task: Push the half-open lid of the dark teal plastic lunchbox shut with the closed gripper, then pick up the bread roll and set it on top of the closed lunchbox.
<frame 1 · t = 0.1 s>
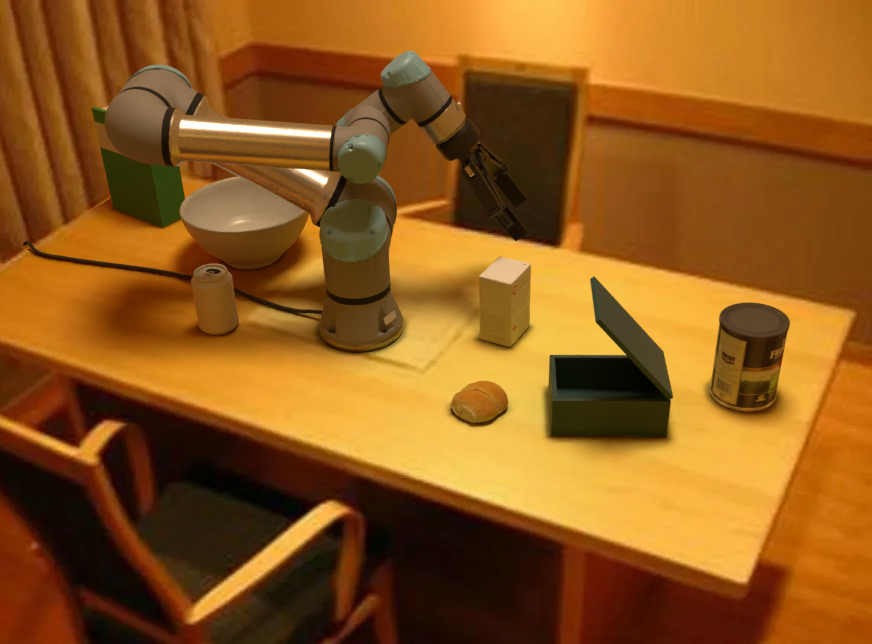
hand: (521, 219, 196), 15 cm above the table, tool tilted 35°, fingers open, 13 cm apart
lunchbox: (605, 412, 172), on the table
lunchbox lid: (631, 337, 164), point 14 cm above the table, hinge at 50.0°
hardback book: (150, 212, 245), on the table
coffee can: (741, 394, 174), on the table
bread roll: (479, 409, 175), on the table
small box: (504, 333, 193), on the table
can: (219, 327, 202), on the table
decorative bowl: (253, 255, 225), on the table
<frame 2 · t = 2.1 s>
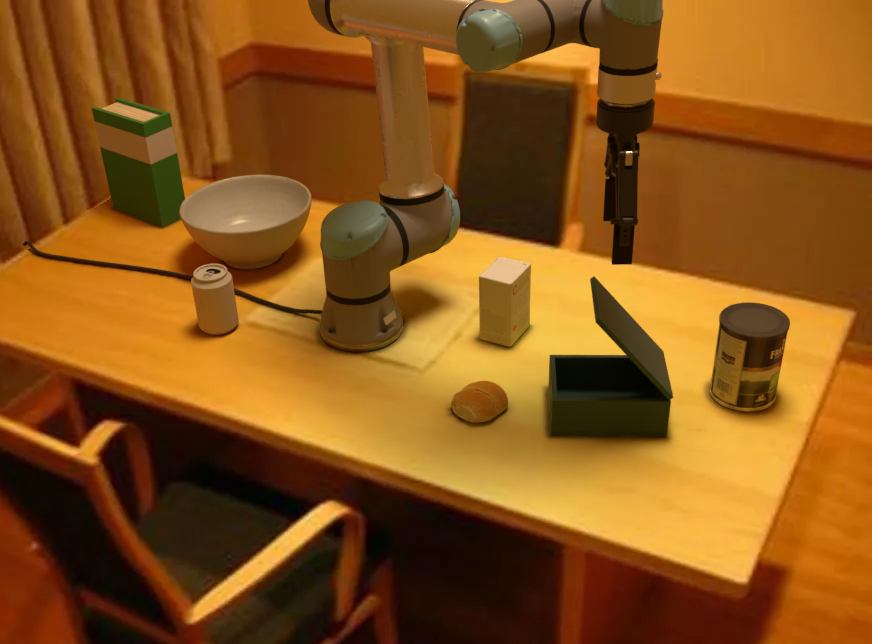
hand: (616, 241, 156), 30 cm above the table, tool pointing down, fingers open, 13 cm apart
nothing on the table moved.
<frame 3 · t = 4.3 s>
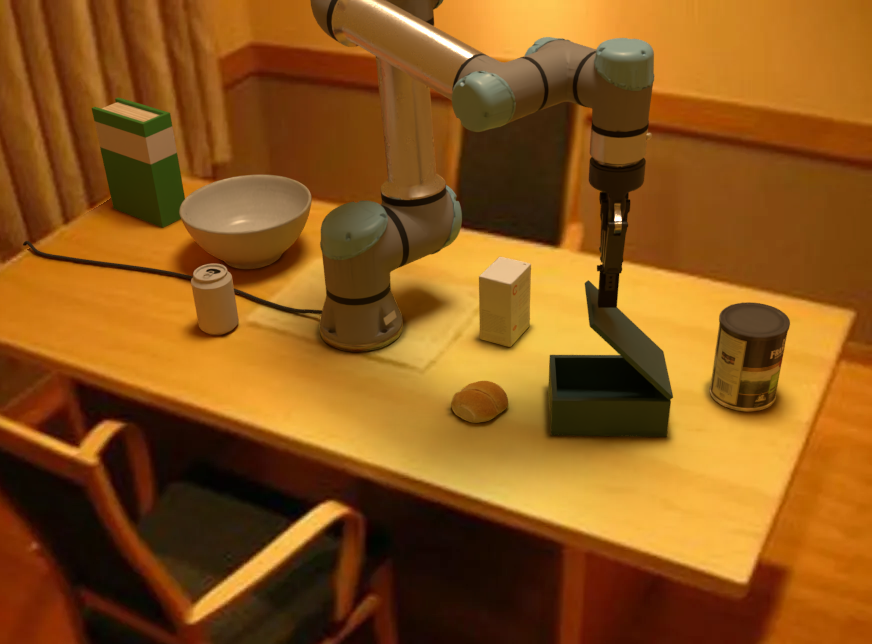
hand: (607, 304, 161), 20 cm above the table, tool pointing down, fingers closed
lunchbox lid: (628, 339, 164), point 14 cm above the table, hinge at 46.5°
everything else where it was.
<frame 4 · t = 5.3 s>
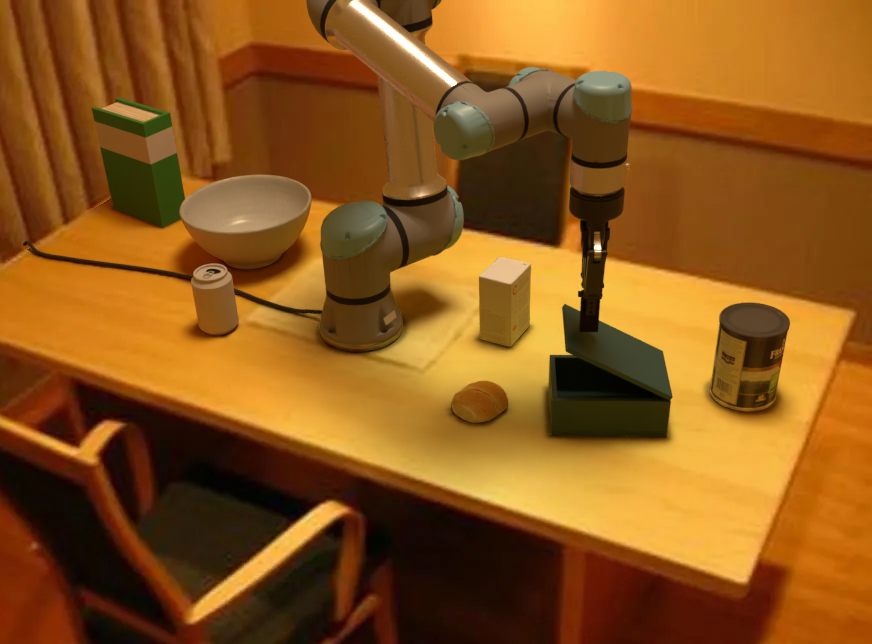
hand: (588, 329, 164), 16 cm above the table, tool pointing down, fingers closed
lunchbox lid: (616, 351, 165), point 12 cm above the table, hinge at 29.2°, touching gripper
everything else where it was.
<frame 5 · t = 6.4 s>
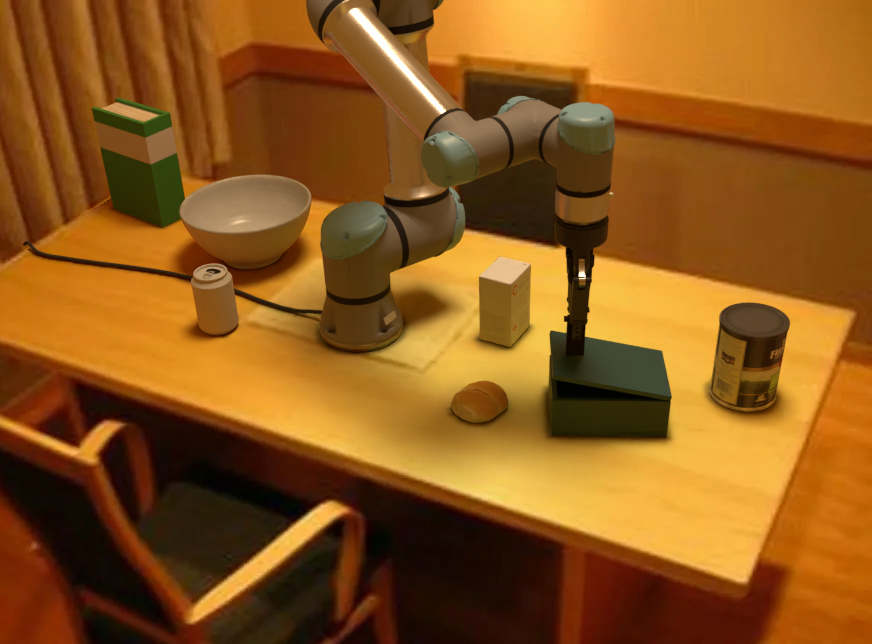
hand: (574, 352, 166), 11 cm above the table, tool pointing down, fingers closed
lunchbox lid: (608, 364, 167), point 9 cm above the table, hinge at 12.3°, touching gripper
everything else where it was.
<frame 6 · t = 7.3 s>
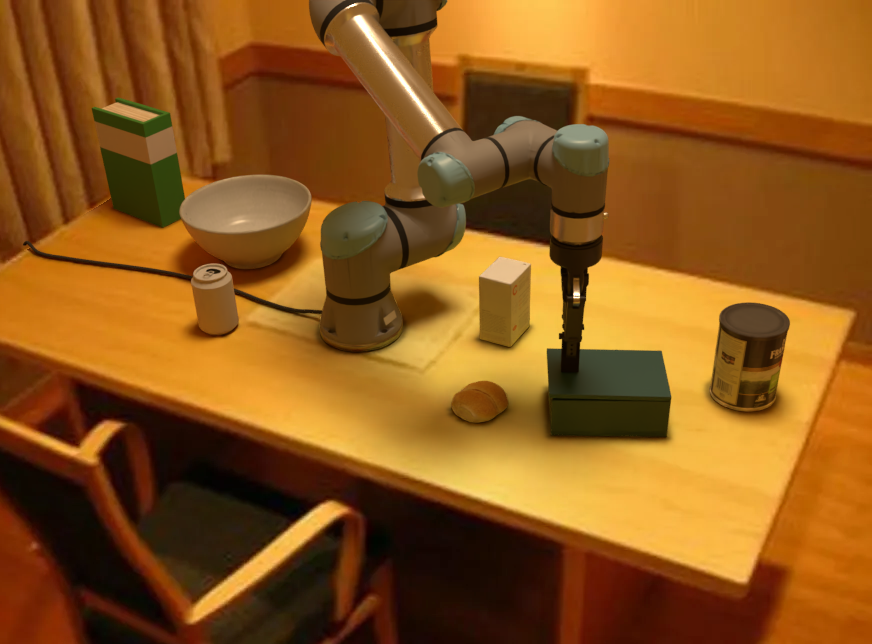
hand: (569, 369, 168), 8 cm above the table, tool pointing down, fingers closed
lunchbox lid: (606, 373, 168), point 7 cm above the table, hinge at 1.2°, touching gripper
everything else where it was.
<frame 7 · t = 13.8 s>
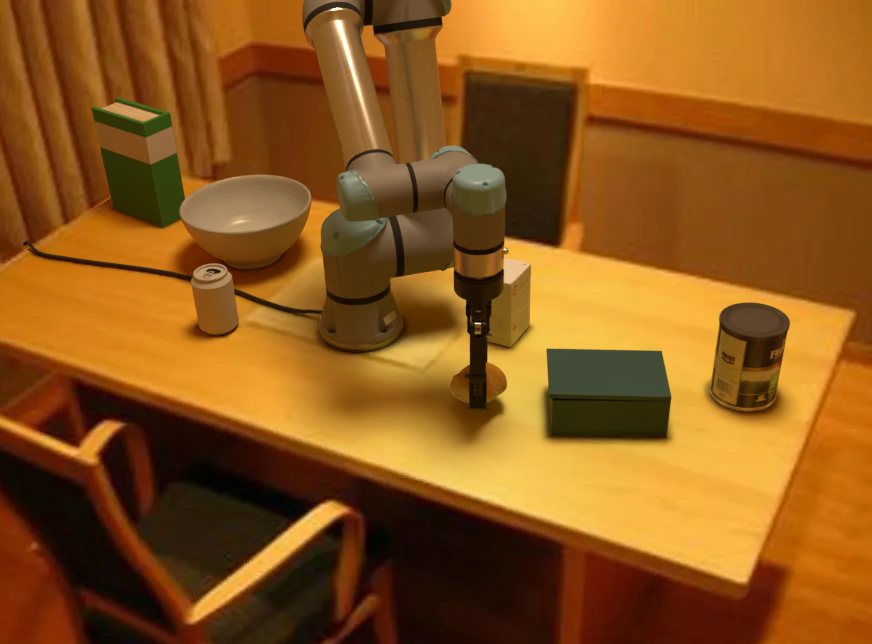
hand: (478, 389, 174), 4 cm above the table, tool pointing down, fingers closed on bread roll, 9 cm apart
lunchbox lid: (606, 373, 168), point 7 cm above the table, hinge at 1.1°
bread roll: (478, 391, 174), point 3 cm above the table, touching gripper
everything else where it was.
when the fingers open (8 cm above the table, at t = 18.9 s): bread roll stays where it is, resting on lunchbox lid.
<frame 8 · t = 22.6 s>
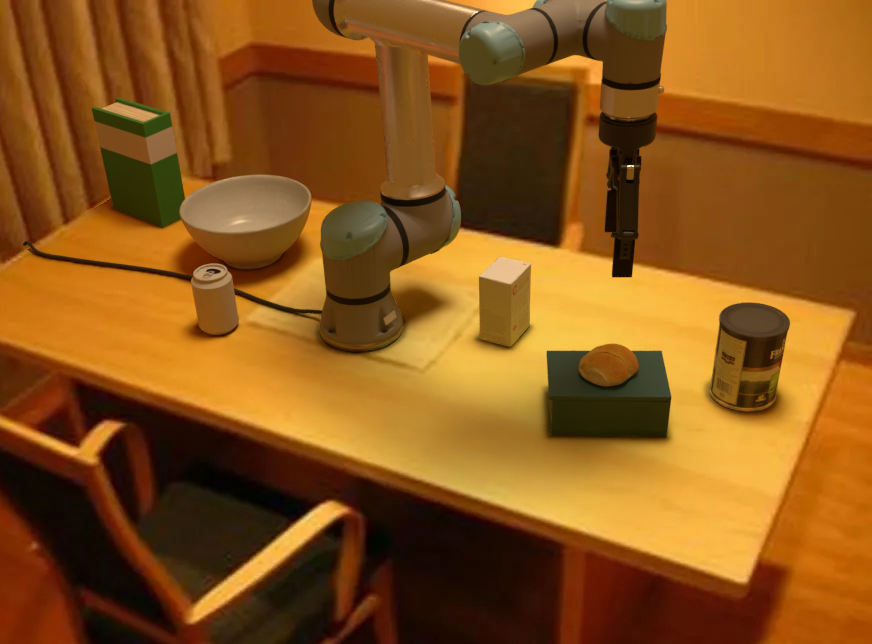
hand: (617, 253, 156), 29 cm above the table, tool pointing down, fingers open, 13 cm apart
lunchbox lid: (606, 374, 168), point 7 cm above the table, hinge at -0.2°, touching bread roll, lunchbox
bread roll: (607, 373, 168), point 7 cm above the table, touching lunchbox lid
everything else where it was.
at the end: lunchbox lid at +0° (first picture: +50°); bread roll inside the target area on the lunchbox (0.1 cm from its centre), point 7.4 cm above the lunchbox's base; the gripper is holding nothing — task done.
